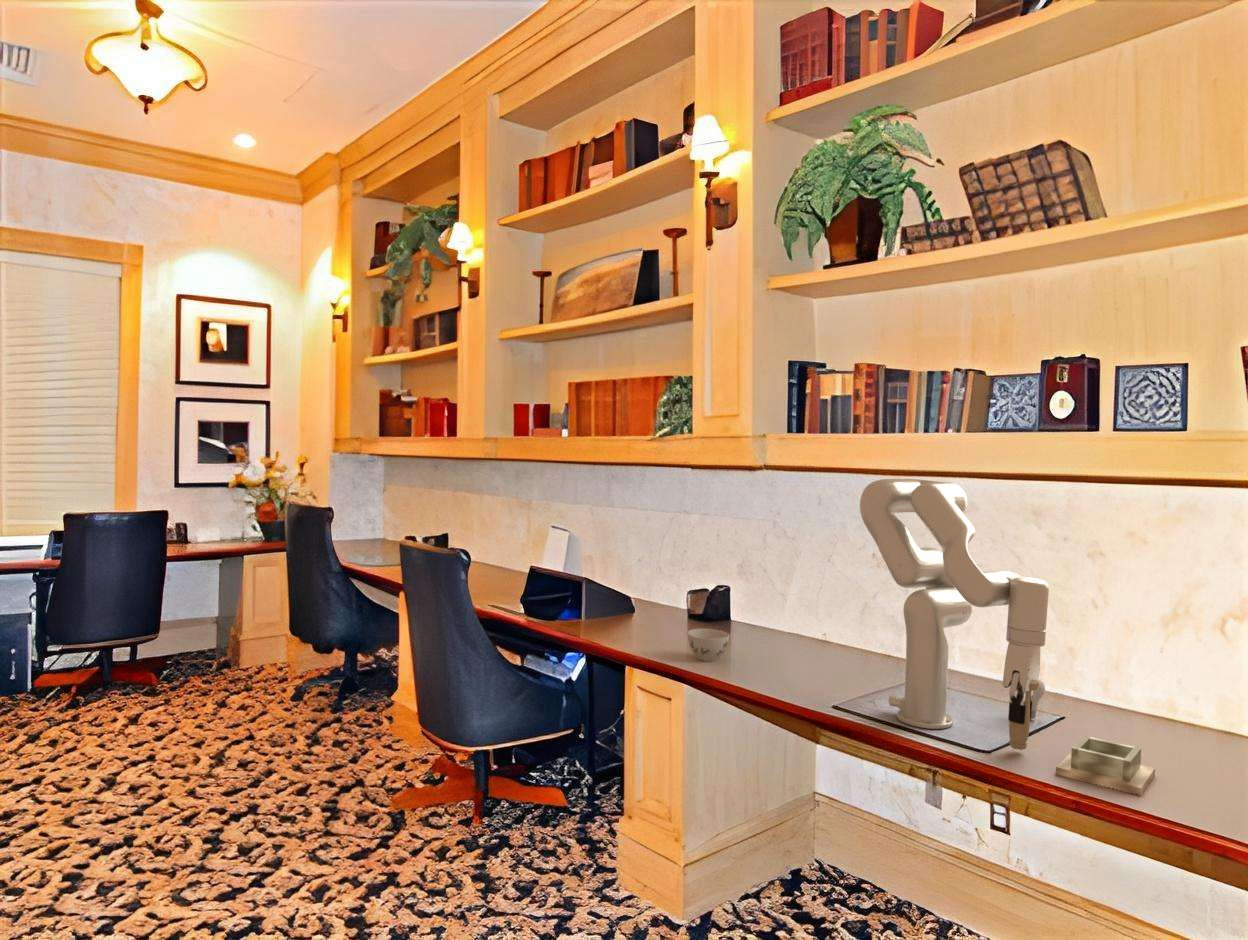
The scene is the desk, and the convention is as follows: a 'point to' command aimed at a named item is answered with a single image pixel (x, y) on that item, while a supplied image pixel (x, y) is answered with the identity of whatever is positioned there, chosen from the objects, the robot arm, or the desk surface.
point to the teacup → (708, 643)
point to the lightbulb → (1037, 697)
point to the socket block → (1107, 765)
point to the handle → (1021, 731)
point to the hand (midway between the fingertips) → (1019, 718)
